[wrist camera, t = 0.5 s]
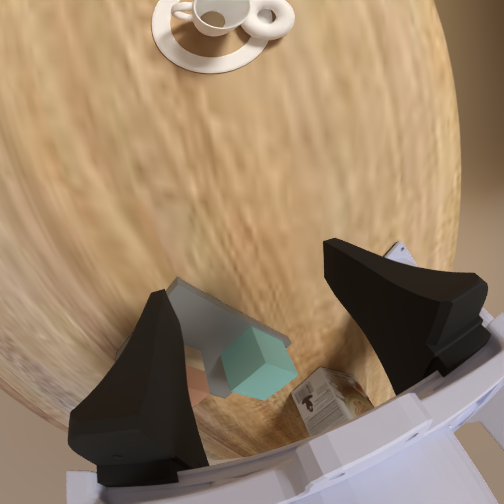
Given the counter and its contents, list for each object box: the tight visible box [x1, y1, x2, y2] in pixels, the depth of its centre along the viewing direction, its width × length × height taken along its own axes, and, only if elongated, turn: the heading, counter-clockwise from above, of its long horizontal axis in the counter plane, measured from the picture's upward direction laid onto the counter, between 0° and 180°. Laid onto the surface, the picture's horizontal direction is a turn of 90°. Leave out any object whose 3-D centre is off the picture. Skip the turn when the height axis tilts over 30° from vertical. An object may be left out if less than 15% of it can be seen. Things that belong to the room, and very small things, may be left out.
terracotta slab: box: [186, 365, 210, 408], centre depth 22 cm, size 6×6×2 cm
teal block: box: [221, 326, 299, 400], centre depth 26 cm, size 4×4×4 cm
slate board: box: [116, 277, 291, 398], centre depth 27 cm, size 14×11×1 cm
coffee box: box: [291, 367, 374, 436], centre depth 31 cm, size 9×6×16 cm
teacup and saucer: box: [152, 0, 295, 73], centre depth 13 cm, size 9×8×4 cm
